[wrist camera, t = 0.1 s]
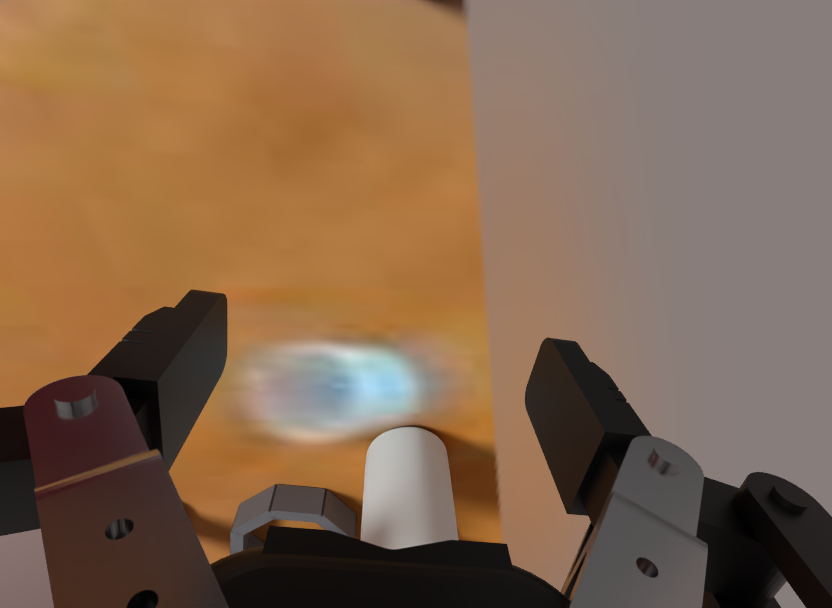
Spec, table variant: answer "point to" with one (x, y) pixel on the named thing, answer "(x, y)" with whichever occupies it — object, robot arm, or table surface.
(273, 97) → the table surface
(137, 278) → the table surface
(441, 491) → the can
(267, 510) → the collar
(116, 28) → the table surface
